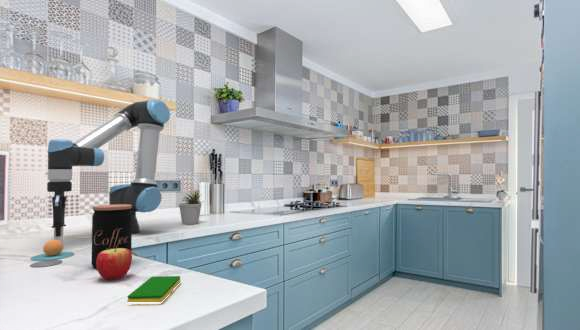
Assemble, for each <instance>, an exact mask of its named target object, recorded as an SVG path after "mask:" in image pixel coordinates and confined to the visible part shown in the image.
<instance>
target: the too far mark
mask: <svg viewBox="0 0 580 330" xmlns="http://www.w3.org/2000/svg"><path fill="white" fill-rule="evenodd" d="M62 263H63V260H62V259H56V260H46V261H37V262H33V263H31V264H30V265H29V267H30V268H47V267H53V266H56V265H61V264H62Z"/></svg>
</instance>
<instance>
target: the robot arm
mask: <svg viewBox="0 0 580 330" xmlns="http://www.w3.org/2000/svg"><path fill="white" fill-rule="evenodd" d="M170 112H171V111H170V108H169V107H168V106H167V104H166V103H165V102H164V101H163V100H161V99H149V100H142V101H137V102H135V101H134V102H133V103H131V104H129V105H128V106H125V107H124V108H122V109H121V110H120V111H118V112H116V113H115V114H114V116H113V118H111V119H109V120H108V121H106V122H104V123H102V125H99V126H98V127H96V128H95V129H94V130H91V131H90V132H89V133H87V134H86V135H84V136H82V137H81V138H79V139H78V140H76V141H74V142H73V141H72V140H70V139H61V138H60V139H58V138H57V139H50V140H49V141H48V145H47V171H45V175H47V180H48V182H47V183H46V185H47V186H46V190H47V191H46V192H48V193H53V194H54V195H53V197H52V198H51V203H52V226H51V228H52V229H53V240H59V241H61V242H62V244H63V245H64V228H65V227H66V226H67V225H66V223H65V218H66V217H65V216H66V215H65V214H66V202H67V196H65V192H72V190H73V183H72V181H71V180H73V167H100V166H102V164H103V163H104V161H105V153H104V151H103V150H102V149H101V147H102V146H105V145H106V144H107V143H109V142H110V141H112V140H113V139H114V138H116V137H117V136H119V135H121V134H122V133H124V132H125V131H130V130H131V129H133V128H135V127H136V128H137V127H138V128H139V130H140V132H139V141H138V150H137V159H136V167H135V176H134V179H133V180H132V181H131V182H130V183H127V184H126V183H125V184H117V185H112V186H111V187H110V188H109V192H108V193H109V194H108V197H109V199H108V200H109V201H108V203H109V204H108V205H115V204H128V205H132V208H131V209H130V211H131V212H132V234H136V233H140V225H139V221H138V218H137V213H151V212H153V211H155V210H156V209H157V208H158V207H159V206H160V204H161V202H162V193H161V191H160V189H159V188H158V183H157V182H156V180H155V177H156V171H157V161H158V160H157V159H158V152H159V151H158V150H159V142H160V141H159V140H160V133H161V131H163V130H164V126H165V124H166V123H168V121H169V120H170V118H171V113H170Z"/></svg>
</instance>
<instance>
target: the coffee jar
mask: <svg viewBox="0 0 580 330" xmlns="http://www.w3.org/2000/svg"><path fill="white" fill-rule="evenodd" d="M131 208H132V205H128V204H115V205H109V204H99V205H94V206H92V210H93V212H94V213H92V216H91V224H92V225H91V266H92V267H93V268H94V269H96V270H97V266H96V260H97V256H98V254H99V253H100V252H102V251H105V250H109V249H116V246H117V244H118V243H119V242H120V240H121V239H122V241H121V242H120V243H119V244H118V246H117V248H126V249H129V250H130V251H131V252H132V240H133V239H132V236H133V235H132V234H133V233H132V212H131V211H130V209H131Z"/></svg>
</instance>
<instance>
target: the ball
mask: <svg viewBox="0 0 580 330" xmlns="http://www.w3.org/2000/svg"><path fill="white" fill-rule="evenodd" d="M42 249H43V254H46V255H48V256H56V255H58V254H60V253H61V252H63V249H64V243H63V244H62V242H61V241H59V240H54V239H50V240H48V241H46V243H45V244H44V245H43V248H42Z"/></svg>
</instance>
